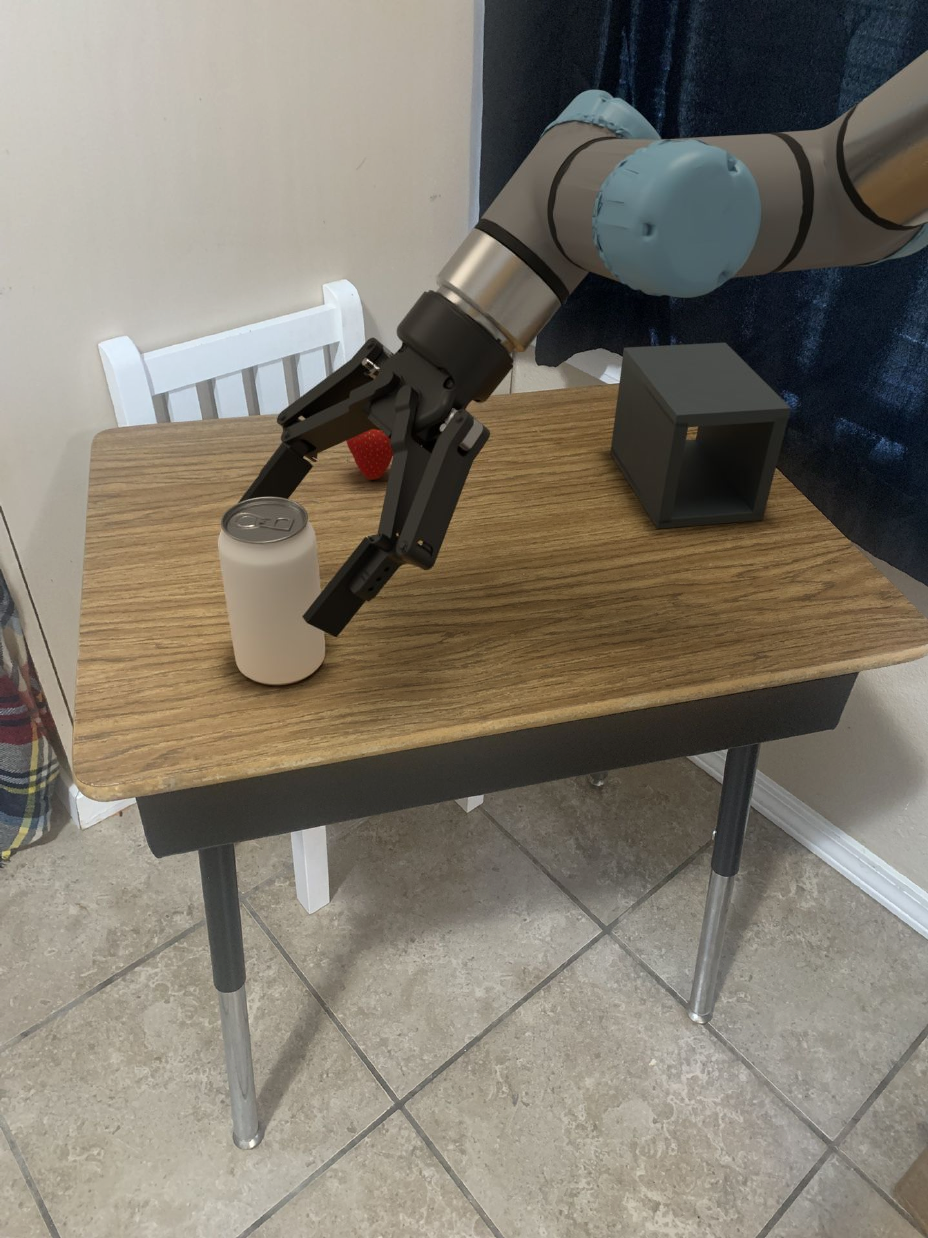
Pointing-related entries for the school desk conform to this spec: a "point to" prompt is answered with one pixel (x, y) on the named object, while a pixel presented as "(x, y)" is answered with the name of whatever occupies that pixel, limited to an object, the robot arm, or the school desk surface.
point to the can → (271, 589)
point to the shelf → (725, 442)
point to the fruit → (371, 453)
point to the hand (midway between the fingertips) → (278, 573)
